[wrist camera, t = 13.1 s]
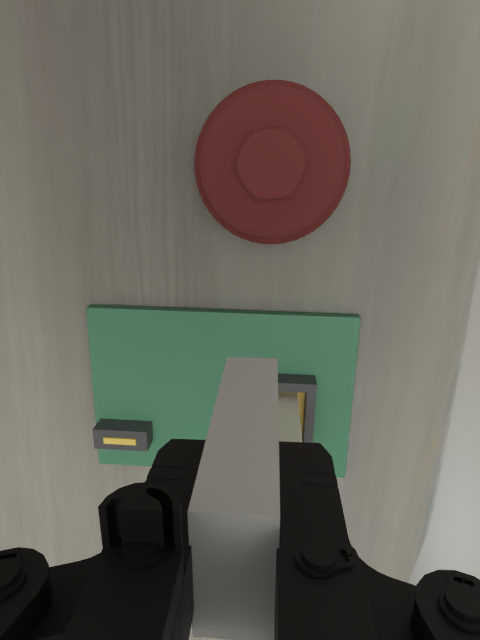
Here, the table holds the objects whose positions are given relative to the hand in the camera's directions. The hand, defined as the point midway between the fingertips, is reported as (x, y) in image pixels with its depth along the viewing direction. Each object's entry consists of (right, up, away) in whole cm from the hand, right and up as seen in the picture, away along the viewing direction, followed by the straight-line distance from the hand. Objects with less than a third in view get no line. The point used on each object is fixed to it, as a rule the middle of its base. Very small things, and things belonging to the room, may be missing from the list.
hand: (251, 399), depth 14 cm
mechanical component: (+2, +15, +23) cm, 28 cm away
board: (-2, -4, +29) cm, 30 cm away
